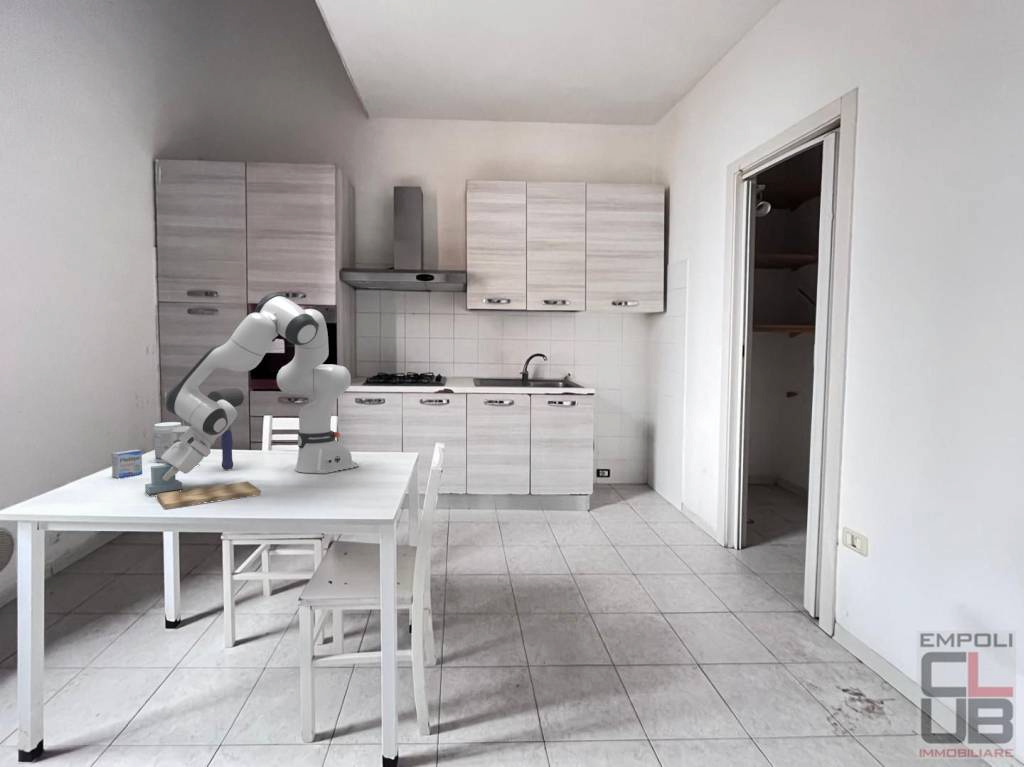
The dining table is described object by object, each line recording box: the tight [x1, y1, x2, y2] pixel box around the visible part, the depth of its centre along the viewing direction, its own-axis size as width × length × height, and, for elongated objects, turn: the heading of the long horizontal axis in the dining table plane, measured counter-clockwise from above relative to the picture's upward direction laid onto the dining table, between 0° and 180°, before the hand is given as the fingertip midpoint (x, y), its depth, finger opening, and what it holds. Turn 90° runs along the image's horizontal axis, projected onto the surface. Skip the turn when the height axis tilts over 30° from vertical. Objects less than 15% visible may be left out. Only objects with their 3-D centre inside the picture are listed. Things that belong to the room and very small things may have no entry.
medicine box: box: [111, 449, 143, 479], centre depth 208 cm, size 8×4×9 cm, turn 148°
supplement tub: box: [153, 421, 183, 464], centre depth 233 cm, size 10×10×15 cm
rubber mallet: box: [206, 387, 245, 471], centre depth 218 cm, size 12×8×30 cm, turn 169°
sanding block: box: [144, 464, 183, 497], centre depth 187 cm, size 9×5×8 cm, turn 134°
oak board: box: [156, 481, 262, 510], centre depth 183 cm, size 26×14×2 cm, turn 129°
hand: (161, 477), depth 187 cm, fingers open, 4 cm apart
